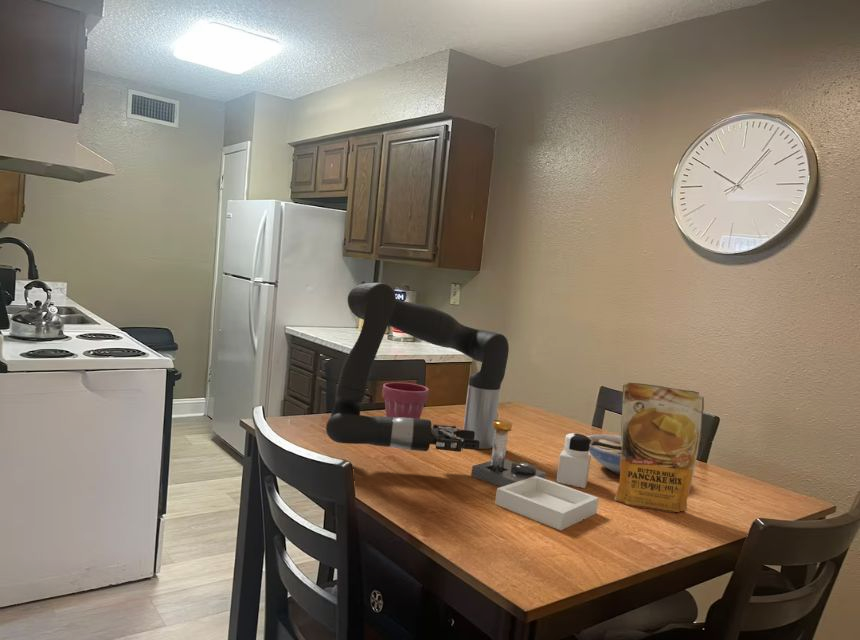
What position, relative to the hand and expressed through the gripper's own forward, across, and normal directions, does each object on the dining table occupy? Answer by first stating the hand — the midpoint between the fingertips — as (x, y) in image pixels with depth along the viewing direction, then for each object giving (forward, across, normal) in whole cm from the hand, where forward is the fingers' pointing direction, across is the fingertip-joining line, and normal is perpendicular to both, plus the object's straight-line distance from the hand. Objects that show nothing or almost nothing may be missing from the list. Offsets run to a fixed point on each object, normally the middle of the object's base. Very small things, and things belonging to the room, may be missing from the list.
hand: (476, 440), depth 149 cm
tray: (+14, -17, +9) cm, 24 cm away
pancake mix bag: (+41, -9, +9) cm, 43 cm away
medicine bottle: (+26, +3, +9) cm, 28 cm away
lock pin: (+6, 0, +9) cm, 11 cm away
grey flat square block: (+9, 0, +9) cm, 13 cm away
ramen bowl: (+44, +16, +9) cm, 48 cm away
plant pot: (-17, +41, +9) cm, 45 cm away
